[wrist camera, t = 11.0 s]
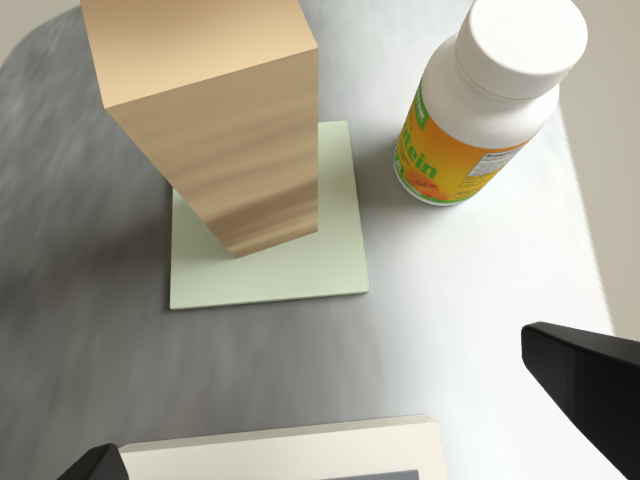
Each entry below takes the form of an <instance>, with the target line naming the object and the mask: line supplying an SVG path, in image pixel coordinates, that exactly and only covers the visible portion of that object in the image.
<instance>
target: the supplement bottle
mask: <svg viewBox="0 0 640 480" xmlns="http://www.w3.org/2000/svg"><path fill="white" fill-rule="evenodd" d="M586 43H587V28H586V23H585V21H584V18H583V16H582V14H581V13H580V11H579V10H578V9H577V7H576V6H575V5H574V4H573V2H571V1H570V0H475V1H474V3H473V4H472V6H471V8H470V10H469V12H468V14H467V16H466V18H465V20H464V22H463V24H462V26H461V29H460V31H459V33H457V34H455V35H454V36H452V37H450V38H449V39H447V40H446V41H445V42H444V43H443V44H442V45H441V46H439V47H438V49H437V50H436V51H435V52H434V53H433V55H432V56H431V58H430V60H429V62H428V64H427V66H426V68H425V70H424V73H423V76H422V78H421V81H420V84H419V86H418V89H417V92H416V94H415V97H414V100H413V102H412V105H411V107H410V110H409V112H408V115H407V118H406V121H405V123H404V126H403V128H402V131H401V133H400V136H399V139H398V141H397V144H396V147H395V150H394V157H393V163H394V169H395V173H396V176H397V178H398V180H399V182H400V183H401V185H402V186H403V187H404V188H405V189H406V190H407V191H408V192H409V193H410V194H411V195H412V196H414V197H415V198H417V199H419V200H421V201H423V202H425V203H428V204H432V205H438V206H449V205H455V204H459V203H462V202H464V201H466V200H468V199H470V198H471V197H473V196H474V195H475V194H476V193H477V192H479V191H480V190H481V189H482V188H483V187H484V186H485V185H486V184H487V183H488V182H489V181H490V180H491V179H492V178H493V177H494V176H495V175H496V174H497V173H498V172H499V171H500V170H501V169H502V168H503V167H504V166H505V165H506V164H507V163H508V162H509V161H510V160H511V159H512V158H513V157H514V156H515V155H516V154H517V153H518V152H519V151H520V150H521V149H522V148H523V147H524V146H525V145H526V144H527V143H528V142H529V141H530V140H531V139H532V138H533V137H534V136H535V135H536V134H537V133H538V132H539V130H540V129H541V128H542V127H543V126H544V125H545V123H546V122H547V121H548V120H549V118H550V117H551V115H552V113H553V112H554V110H555V107H556V104H557V101H558V96H559V83H560V82H561V81H562V80H563V78H564V77H565V76H566V74H567V73H568V72H569V71H570V70H571V68H572V67H573V66H574V65H575V63H576V62H577V61H578V60H579V59H580V57H581V56H582V54H583V52H584V50H585V47H586Z"/></svg>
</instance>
